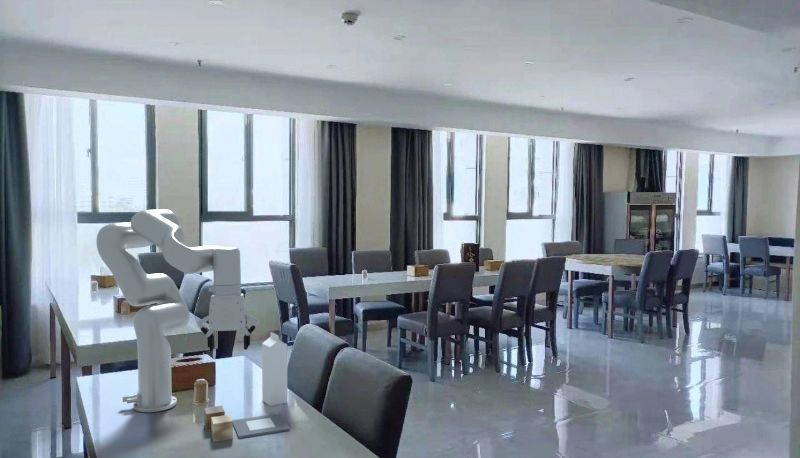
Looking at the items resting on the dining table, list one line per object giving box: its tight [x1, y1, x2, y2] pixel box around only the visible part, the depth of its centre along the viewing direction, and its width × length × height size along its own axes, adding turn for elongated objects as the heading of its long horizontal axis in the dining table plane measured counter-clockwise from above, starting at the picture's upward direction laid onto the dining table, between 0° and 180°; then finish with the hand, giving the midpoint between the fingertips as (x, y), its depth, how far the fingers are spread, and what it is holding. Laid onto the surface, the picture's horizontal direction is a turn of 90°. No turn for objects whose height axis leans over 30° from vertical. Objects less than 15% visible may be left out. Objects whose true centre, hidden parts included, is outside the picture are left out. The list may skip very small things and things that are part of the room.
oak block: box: [210, 414, 234, 442], centre depth 160 cm, size 5×5×5 cm
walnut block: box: [203, 405, 226, 432], centre depth 167 cm, size 5×5×5 cm
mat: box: [232, 412, 290, 439], centre depth 167 cm, size 14×12×1 cm
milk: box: [261, 332, 288, 407], centre depth 186 cm, size 6×6×22 cm
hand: (229, 348), depth 169 cm, fingers open, 9 cm apart
